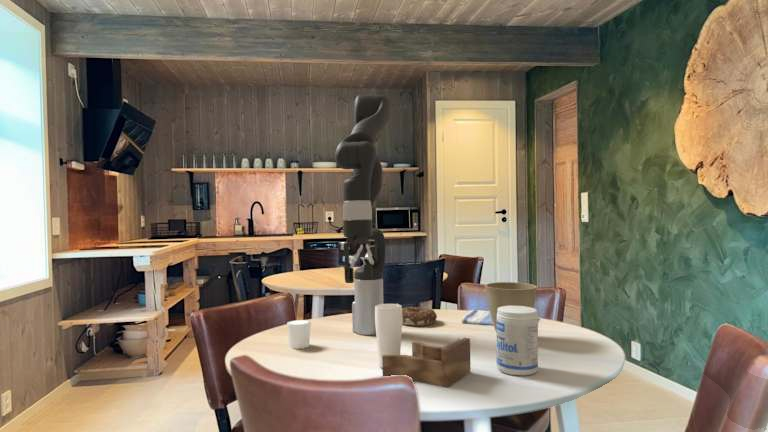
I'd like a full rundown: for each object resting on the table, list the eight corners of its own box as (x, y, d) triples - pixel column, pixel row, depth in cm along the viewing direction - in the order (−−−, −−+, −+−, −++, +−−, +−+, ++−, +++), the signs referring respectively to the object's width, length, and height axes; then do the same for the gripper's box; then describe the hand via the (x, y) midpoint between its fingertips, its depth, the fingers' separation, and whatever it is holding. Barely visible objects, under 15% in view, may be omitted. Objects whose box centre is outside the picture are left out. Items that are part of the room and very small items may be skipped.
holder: (380, 377, 114) (380, 342, 114) (414, 359, 127) (413, 329, 127) (444, 390, 105) (443, 352, 105) (473, 370, 118) (473, 336, 118)
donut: (389, 325, 169) (389, 310, 169) (409, 317, 180) (408, 304, 180) (427, 329, 161) (427, 314, 161) (444, 321, 173) (444, 307, 173)
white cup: (315, 343, 145) (315, 320, 145) (304, 350, 138) (303, 325, 138) (294, 342, 147) (294, 318, 147) (282, 348, 141) (282, 323, 141)
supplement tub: (489, 371, 117) (488, 309, 117) (507, 361, 124) (506, 303, 124) (528, 379, 111) (527, 314, 111) (545, 369, 118) (544, 307, 118)
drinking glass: (400, 371, 118) (399, 308, 118) (373, 370, 119) (372, 308, 119) (405, 362, 125) (404, 303, 125) (378, 361, 126) (377, 303, 126)
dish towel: (471, 315, 185) (471, 307, 185) (537, 319, 175) (537, 311, 175) (459, 325, 169) (459, 316, 169) (530, 330, 159) (530, 321, 159)
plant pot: (506, 347, 137) (505, 290, 137) (476, 336, 151) (475, 284, 151) (548, 341, 143) (547, 286, 143) (515, 330, 157) (514, 280, 157)
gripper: (361, 218, 136) (362, 277, 136) (329, 219, 124) (330, 283, 124) (384, 218, 132) (386, 278, 132) (353, 218, 120) (355, 284, 120)
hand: (359, 280), depth 128 cm, fingers open, 8 cm apart
